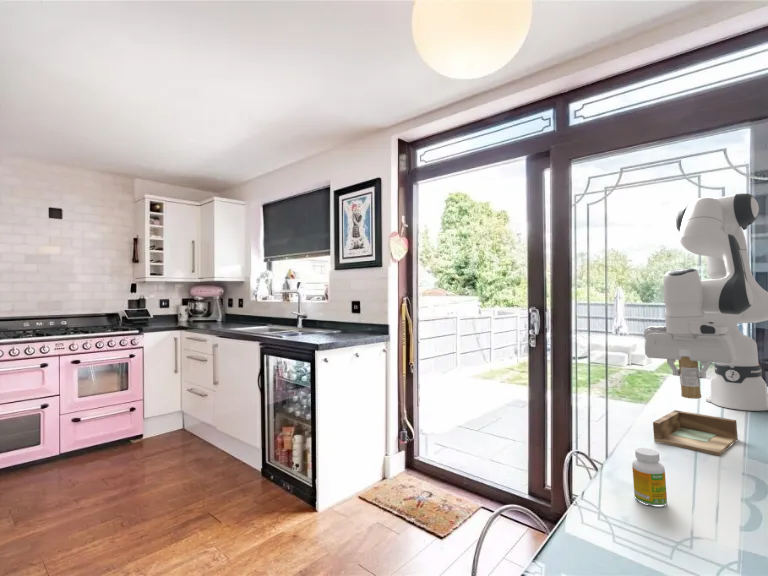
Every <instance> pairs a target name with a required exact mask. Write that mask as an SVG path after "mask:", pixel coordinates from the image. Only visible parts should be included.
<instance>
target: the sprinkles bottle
mask: <svg viewBox="0 0 768 576" xmlns="http://www.w3.org/2000/svg"><path fill="white" fill-rule="evenodd" d="M679 356H682V357H681V360H678V369H679V372H680V376H679V384H680V390H681V395H680V396H681V397H682V398H684V399H685V398H686V399H693V400H696V399H698V400H699V399H701V398H702V394H701V378H698V377H697V375H698V374H697V371H700V370H699V361H691V360H690V356H691V354H690V350H679Z"/></svg>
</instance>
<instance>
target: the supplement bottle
mask: <svg viewBox="0 0 768 576" xmlns="http://www.w3.org/2000/svg"><path fill="white" fill-rule="evenodd" d="M634 451H635V459H634V460H632V463H631V464H632V465H631V467H632V478H633V479H632V481H633V493H634V494H633V495H634V498H635V497H636V499H637V500H639V501H641V502H643V503H645V504H648V505H665V504H666V505H668V504H667V503H668V499H667V497H668V495H667V494H668V493H667V484H666V471H665V469H666V468H665V466H664V465H663V464H662V463H661V462H660V459H661V458H660V453H659V451H657V450H656V449H652V448H647V447H637V448H635V450H634ZM636 499H635V500H636ZM637 500H636V501H637ZM666 505H665V506H666Z"/></svg>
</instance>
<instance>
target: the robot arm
mask: <svg viewBox="0 0 768 576" xmlns="http://www.w3.org/2000/svg"><path fill="white" fill-rule="evenodd" d="M759 211H760V207H759V203H758V201H757V200H756V198H755V197H754V196H753V195H752V194H750V193H736V194H735V195H728V196H727V195H726V196H720V197H719V196H718V197H709V196H708V197H707V196H705V197H700V198H697V199H694V200H693V201H692V202H689V204H687V205H685V206H683V207H682V206H681V208H679V209H678V210H677V211H676V212H675V215H674V224H675V226H676V229H677V231H678V232H679V241H680V244H681V245H682V247H683V248H684V249H685V250H686V251H688V252H690V253H692V254H694V255H698V256H703V257H705V258H706V259H705V260H706V268H707V274H708V276H709V277H710V278H711V279H701V277H700V274H699V272H698V269H695V268H691V267H689V268H688V267H687V268H677V269H672V270H669V271H667V272H665V274H664V278H663V288H662V289H663V290H662V292H663V293H662V294H663V302H664V305H665V314H664V320H665V322H664V323H665V326H660V325H659V326H652V325H651V326H648V327H646V328H645V329H644V332H643V333H644V334H643V335H644V340H645V343H644V354H645V356H646V357H647V358H649V359H660V360H662V359H663V360H666V363H667V365H668V366H669V367H670V369H671V370H672V375H673V376H676V377H680V372H679V368H678V367H677V366H676V364H675V363H676V362H677V360H678V361H679V360H681V357H682V356H679V350H690V354H691V356H690V360H691V361H698V362H701V363H700V364H701V366H703V367H702V369H701V370H699V371H697V374H698V375H697V377H698V378H700V379H706V378H707V370H708V369H709V368H710V366H711V363H714V366H713V368H714V375H713V376H712V377H711V378H710V380H709V382H710V385H709V386H710V387H709V388H710V396H708V397H707V396H706V397H705V401H706V402H709V403H712V404H714V405H716V406H719V407H723V408H728V409H733V410H738V411H752V412H753V411H756V412H757V411H758V412H759V411H768V383H766V381H765V380H764V379H763V376H762V375H763V373H762V372H763V371H762V367H761V365H760V363H759V355H758V354H759V352H758V344H757V341H755V340H754V339H753V338H752V337H750V336H748V335H746V334H743V333H742V332H741V331H740V330H739V327H738V324H758V323H762V322H766V321H768V291H767V290H766V289H764V288H763V287H762V286H760V284H759V283H758V282H757V281H756V279H755V277H754V276H753V273H752V271H751V266H750V261H749V260H750V259H749V253H748V245H747V241H746V237H745V233H744V231H746V230H747V229H748V226H750V225H752V224H754V222H755V221H756V220H757V218H758V214H759Z"/></svg>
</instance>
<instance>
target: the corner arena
mask: <svg viewBox="0 0 768 576" xmlns="http://www.w3.org/2000/svg"><path fill="white" fill-rule="evenodd" d="M737 424H738V423H737V420H736V419H731V418H725V417H720V416H719V417H718V416H713V415H707V414H702V413H700V414H699V413H696V412H695V413H694V412H690V411H689V412H688V411H683V410H673V411H671V412H669V413H667V414H665V415H663V416H661V417H660V418H658V419H656V420H654V421H653V422H652V425H653V427H652V428H653V440H654V441H653V442H656V443H661V444H666V445H669V446H674V447H679V448H683V449H688V450H691V451H696V452H701V453H704V454H709V453H710V455H713V454H714V456H721V455H722V454H723V453H724V452H725V451H727V448H728V447H729V446H730V445H731V444H732V443H733V444H735V443H736V442H737V441H738V440H739V439H738V437H739V436H738V427H737V426H738V425H737ZM736 440H737V441H736ZM735 441H736V442H735ZM734 442H735V443H734ZM733 444H732V445H733ZM732 445H731V446H732ZM731 446H730V447H731ZM730 447H729V448H730ZM729 448H728V449H729Z"/></svg>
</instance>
